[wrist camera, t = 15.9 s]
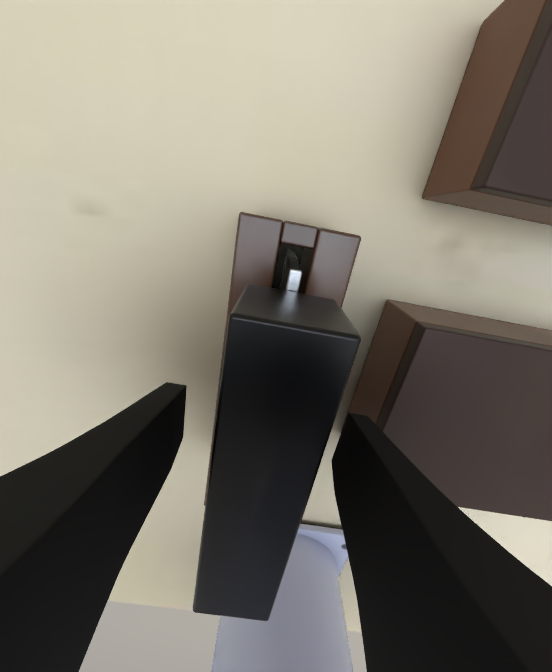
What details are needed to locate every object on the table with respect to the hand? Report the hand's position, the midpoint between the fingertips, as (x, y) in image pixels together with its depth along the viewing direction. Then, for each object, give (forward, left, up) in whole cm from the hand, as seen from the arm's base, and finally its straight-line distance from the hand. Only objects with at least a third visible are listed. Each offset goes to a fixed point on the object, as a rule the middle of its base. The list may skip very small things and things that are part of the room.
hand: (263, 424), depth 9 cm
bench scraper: (0, 0, -5) cm, 5 cm away
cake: (0, -10, -5) cm, 11 cm away
